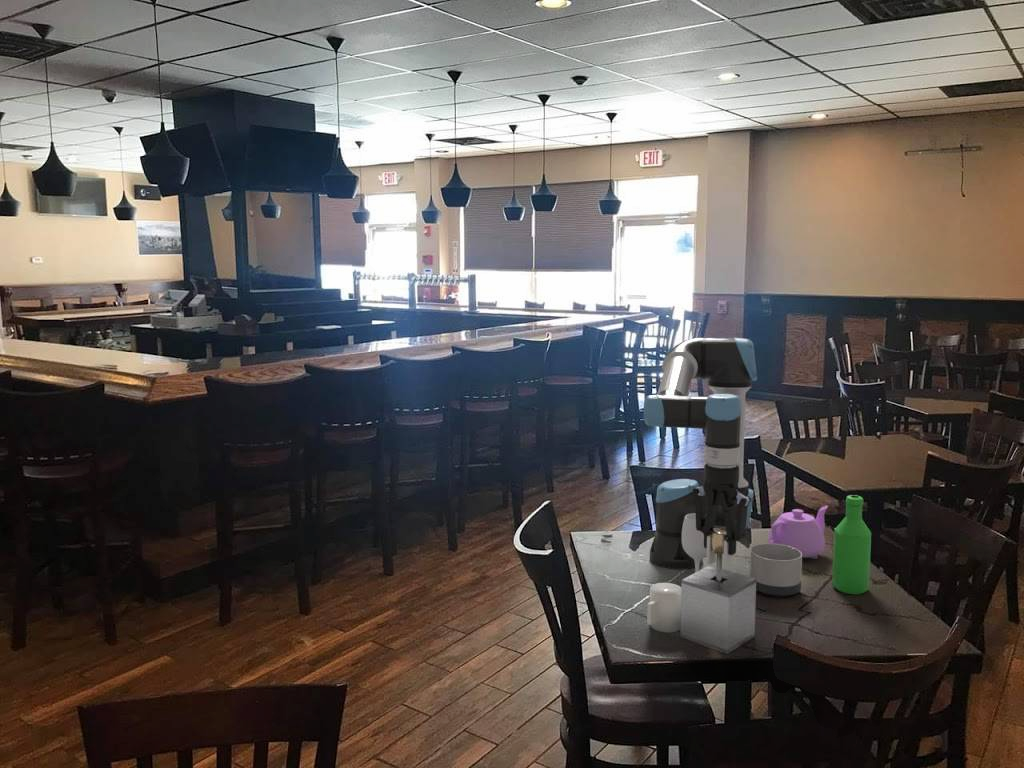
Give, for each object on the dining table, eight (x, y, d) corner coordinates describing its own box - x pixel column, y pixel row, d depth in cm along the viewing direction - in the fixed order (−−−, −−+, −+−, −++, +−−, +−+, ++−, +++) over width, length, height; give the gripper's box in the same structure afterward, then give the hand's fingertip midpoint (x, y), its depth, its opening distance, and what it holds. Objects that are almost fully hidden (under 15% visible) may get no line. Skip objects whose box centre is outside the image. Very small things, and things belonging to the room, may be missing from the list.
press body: (680, 637, 179) (681, 579, 177) (708, 620, 188) (709, 565, 186) (727, 654, 171) (729, 594, 169) (754, 636, 179) (756, 578, 177)
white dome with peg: (635, 629, 183) (635, 593, 182) (661, 615, 191) (662, 580, 190) (662, 640, 178) (663, 602, 177) (688, 624, 186) (689, 588, 184)
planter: (808, 589, 206) (810, 550, 204) (788, 604, 196) (790, 564, 195) (762, 576, 214) (763, 540, 213) (740, 591, 205) (741, 552, 203)
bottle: (872, 596, 200) (877, 502, 197) (835, 594, 202) (840, 500, 198) (863, 583, 209) (868, 492, 205) (829, 581, 210) (833, 491, 207)
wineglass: (715, 590, 205) (717, 513, 202) (712, 604, 197) (714, 523, 194) (681, 587, 208) (682, 510, 205) (677, 599, 200) (678, 520, 197)
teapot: (806, 541, 242) (808, 498, 240) (846, 557, 228) (849, 511, 226) (751, 552, 233) (752, 507, 231) (789, 570, 219) (791, 522, 217)
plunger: (688, 630, 179) (690, 532, 176) (710, 617, 186) (712, 523, 182) (725, 643, 172) (728, 542, 169) (746, 629, 179) (749, 532, 176)
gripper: (680, 461, 177) (678, 560, 180) (747, 473, 165) (744, 579, 168) (698, 455, 182) (696, 552, 185) (764, 467, 170) (761, 570, 174)
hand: (719, 564), depth 177 cm, fingers closed on plunger, 4 cm apart
